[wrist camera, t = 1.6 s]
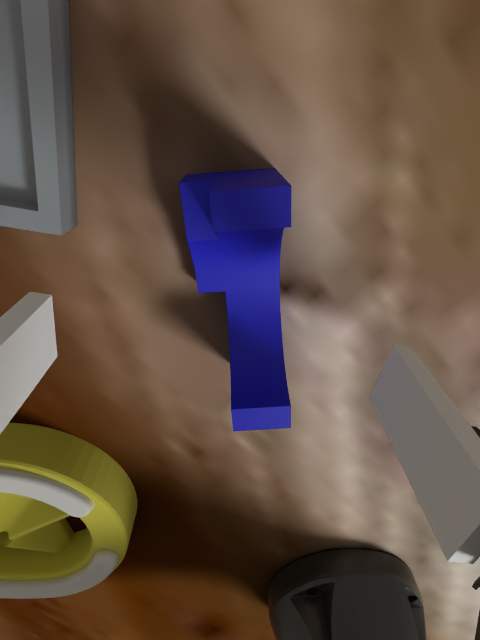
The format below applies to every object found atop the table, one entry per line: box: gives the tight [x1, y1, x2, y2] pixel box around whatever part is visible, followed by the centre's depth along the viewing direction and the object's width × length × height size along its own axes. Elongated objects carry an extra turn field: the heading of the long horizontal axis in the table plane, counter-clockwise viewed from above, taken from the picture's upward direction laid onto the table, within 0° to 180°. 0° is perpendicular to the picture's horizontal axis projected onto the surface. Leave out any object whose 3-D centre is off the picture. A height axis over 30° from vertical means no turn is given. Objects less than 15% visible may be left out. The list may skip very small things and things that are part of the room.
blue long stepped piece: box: [179, 168, 291, 431], centre depth 19 cm, size 12×4×6 cm, turn 4°
